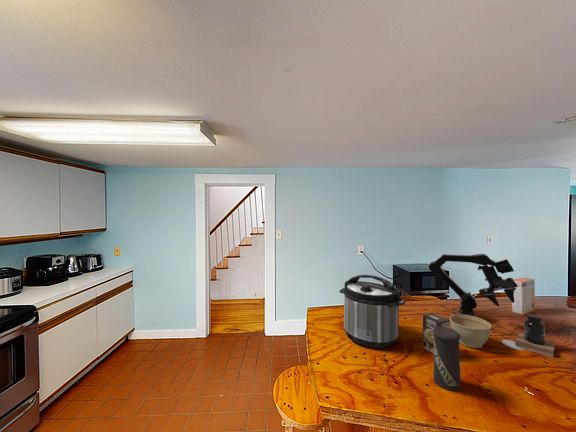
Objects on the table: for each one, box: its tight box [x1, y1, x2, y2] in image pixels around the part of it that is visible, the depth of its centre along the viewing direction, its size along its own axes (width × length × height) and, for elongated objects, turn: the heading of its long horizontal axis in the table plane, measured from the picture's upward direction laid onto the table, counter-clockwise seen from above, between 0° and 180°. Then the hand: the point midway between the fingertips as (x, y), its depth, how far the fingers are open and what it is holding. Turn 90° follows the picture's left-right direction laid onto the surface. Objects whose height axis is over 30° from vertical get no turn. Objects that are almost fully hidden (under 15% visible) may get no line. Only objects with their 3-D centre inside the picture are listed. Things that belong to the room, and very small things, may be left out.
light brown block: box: [514, 332, 556, 358], centre depth 113 cm, size 12×12×2 cm
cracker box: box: [511, 277, 536, 316], centre depth 152 cm, size 14×6×21 cm, turn 111°
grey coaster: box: [501, 339, 527, 351], centre depth 115 cm, size 9×9×1 cm
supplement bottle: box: [523, 313, 546, 345], centre depth 113 cm, size 7×7×12 cm
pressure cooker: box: [339, 274, 407, 348], centre depth 125 cm, size 30×28×32 cm
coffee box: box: [422, 312, 451, 355], centre depth 110 cm, size 9×6×16 cm
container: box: [433, 327, 462, 392], centre depth 90 cm, size 9×9×20 cm
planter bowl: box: [449, 314, 492, 349], centre depth 117 cm, size 16×16×11 cm
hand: (505, 304), depth 131 cm, fingers open, 9 cm apart
